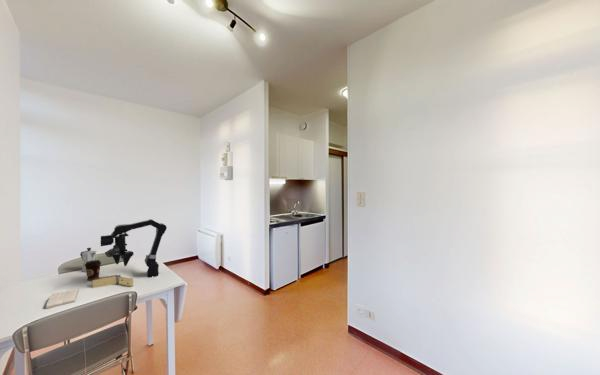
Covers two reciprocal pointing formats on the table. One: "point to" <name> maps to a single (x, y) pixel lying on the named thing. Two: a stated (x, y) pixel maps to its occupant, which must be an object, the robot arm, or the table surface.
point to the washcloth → (62, 298)
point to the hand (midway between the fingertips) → (121, 265)
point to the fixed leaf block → (104, 281)
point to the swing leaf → (124, 281)
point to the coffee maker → (87, 257)
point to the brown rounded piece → (92, 269)
